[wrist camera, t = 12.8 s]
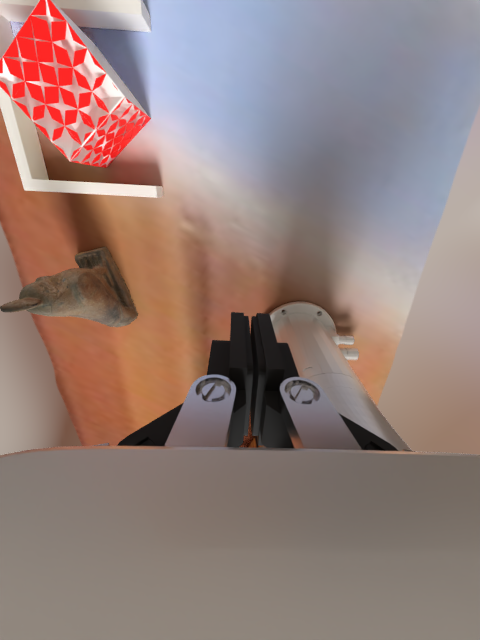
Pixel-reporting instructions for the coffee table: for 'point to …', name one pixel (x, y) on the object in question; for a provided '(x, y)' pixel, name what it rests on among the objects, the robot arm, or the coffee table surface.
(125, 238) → the coffee table surface
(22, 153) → the white shallow walled frame
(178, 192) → the coffee table surface
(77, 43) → the red white patterned box
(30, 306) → the worn brown figurine
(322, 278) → the coffee table surface
